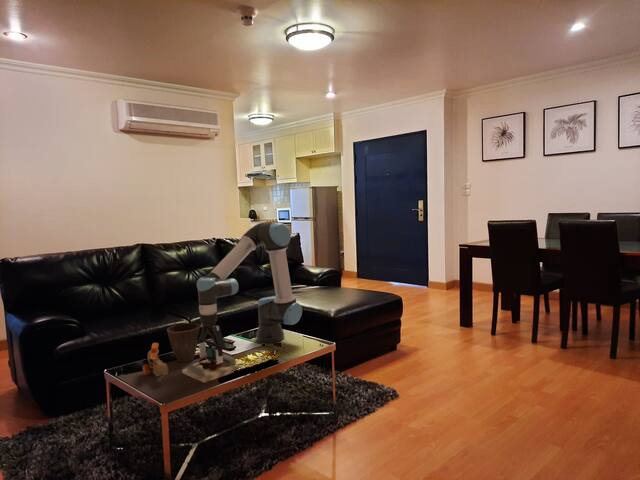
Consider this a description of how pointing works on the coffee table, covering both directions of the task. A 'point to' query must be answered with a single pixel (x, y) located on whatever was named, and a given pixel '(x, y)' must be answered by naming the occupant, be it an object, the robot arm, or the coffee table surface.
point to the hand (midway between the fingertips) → (211, 359)
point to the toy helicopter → (155, 363)
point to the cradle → (207, 374)
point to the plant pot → (183, 341)
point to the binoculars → (210, 358)
